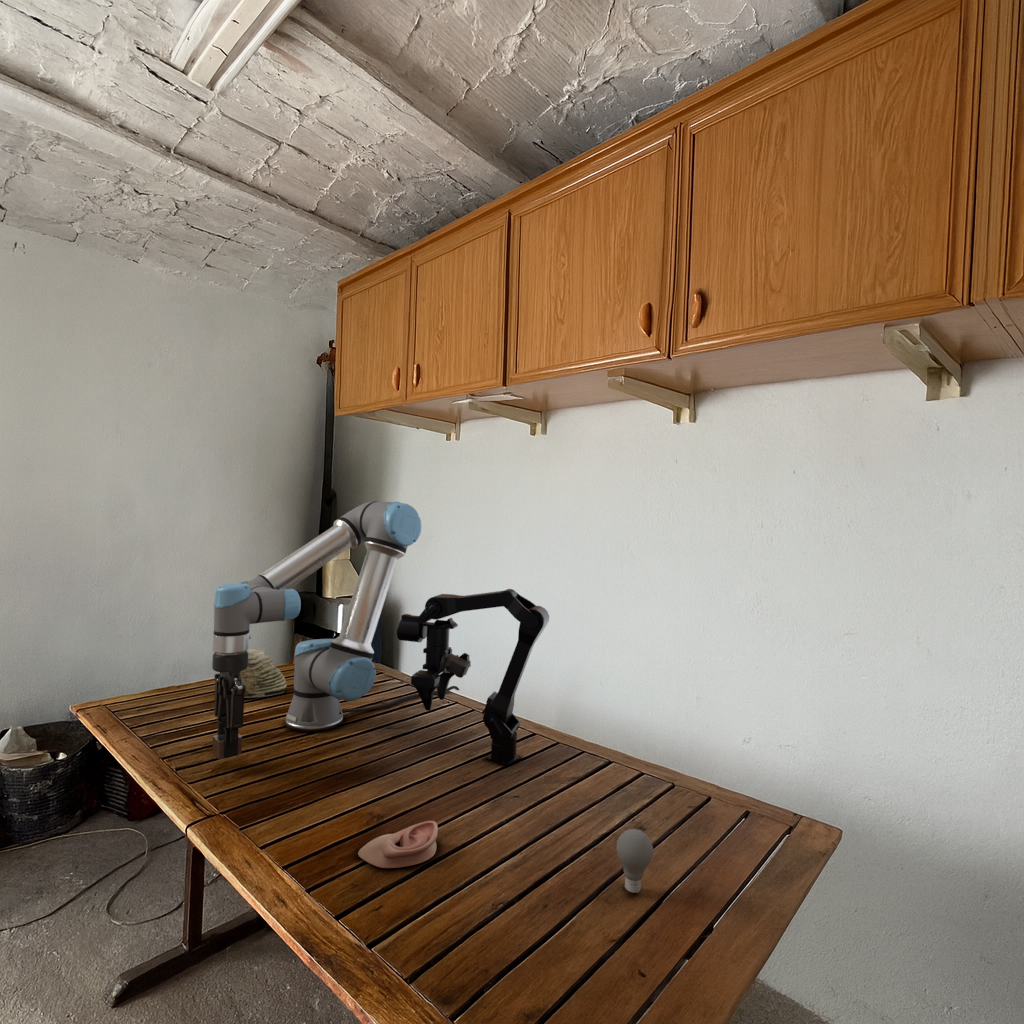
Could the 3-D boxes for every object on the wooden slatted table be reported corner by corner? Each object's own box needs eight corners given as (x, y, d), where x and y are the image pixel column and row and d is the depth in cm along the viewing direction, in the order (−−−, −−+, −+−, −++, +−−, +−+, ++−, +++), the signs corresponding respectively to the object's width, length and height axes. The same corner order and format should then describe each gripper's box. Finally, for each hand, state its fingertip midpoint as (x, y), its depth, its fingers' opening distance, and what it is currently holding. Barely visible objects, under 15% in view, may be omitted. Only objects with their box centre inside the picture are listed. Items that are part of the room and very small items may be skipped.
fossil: (218, 695, 195) (220, 647, 195) (278, 685, 208) (279, 640, 207) (228, 703, 189) (230, 653, 188) (289, 692, 201) (290, 645, 201)
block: (218, 759, 142) (218, 741, 142) (212, 753, 145) (212, 735, 145) (241, 754, 146) (242, 736, 146) (235, 748, 149) (235, 731, 149)
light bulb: (610, 879, 108) (613, 822, 108) (644, 879, 109) (647, 822, 109) (619, 902, 102) (622, 840, 102) (655, 901, 103) (658, 840, 103)
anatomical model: (350, 840, 110) (378, 809, 121) (349, 863, 110) (377, 829, 121) (423, 852, 107) (444, 819, 118) (422, 875, 107) (443, 840, 118)
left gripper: (261, 657, 141) (257, 761, 142) (234, 642, 154) (230, 737, 154) (226, 662, 136) (223, 769, 137) (201, 646, 149) (197, 744, 149)
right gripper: (454, 655, 151) (451, 720, 151) (478, 640, 169) (476, 698, 169) (411, 650, 154) (408, 714, 154) (439, 635, 172) (437, 693, 172)
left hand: (227, 752), depth 145 cm, fingers closed on block, 4 cm apart
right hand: (435, 704), depth 162 cm, fingers open, 9 cm apart
